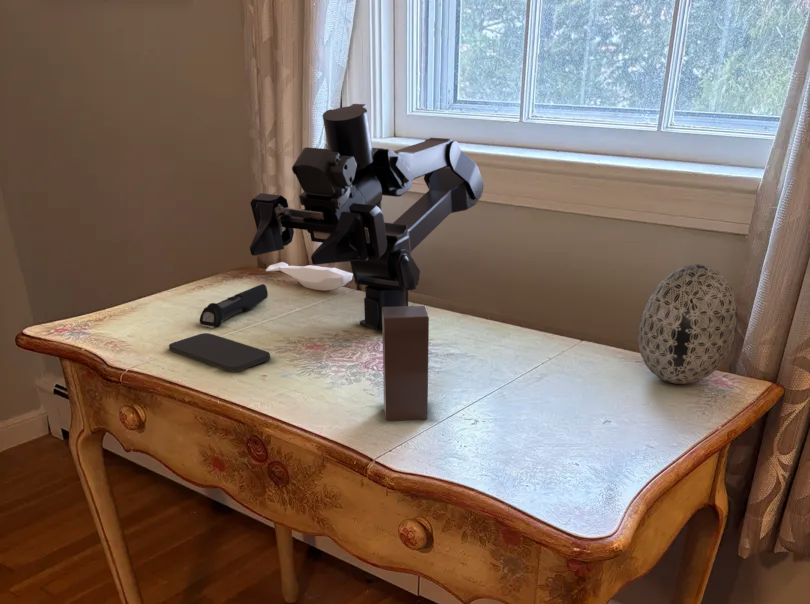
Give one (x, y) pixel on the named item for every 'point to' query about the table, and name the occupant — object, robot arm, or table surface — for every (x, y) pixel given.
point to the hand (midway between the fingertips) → (281, 256)
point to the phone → (219, 352)
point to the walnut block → (405, 362)
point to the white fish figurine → (314, 275)
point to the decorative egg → (688, 325)
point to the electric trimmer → (232, 306)
